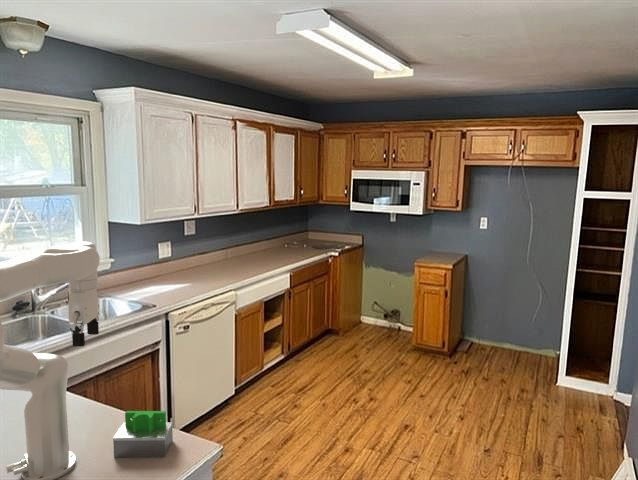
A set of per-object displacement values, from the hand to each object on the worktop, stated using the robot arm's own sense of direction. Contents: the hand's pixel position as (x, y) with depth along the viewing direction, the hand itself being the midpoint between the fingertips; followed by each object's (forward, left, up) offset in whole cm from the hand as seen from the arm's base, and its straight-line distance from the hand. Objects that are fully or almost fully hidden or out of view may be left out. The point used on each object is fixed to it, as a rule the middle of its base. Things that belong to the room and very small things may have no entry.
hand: (86, 339), depth 140 cm
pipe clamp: (+9, -21, -22) cm, 32 cm away
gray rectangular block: (+9, -21, -28) cm, 36 cm away
